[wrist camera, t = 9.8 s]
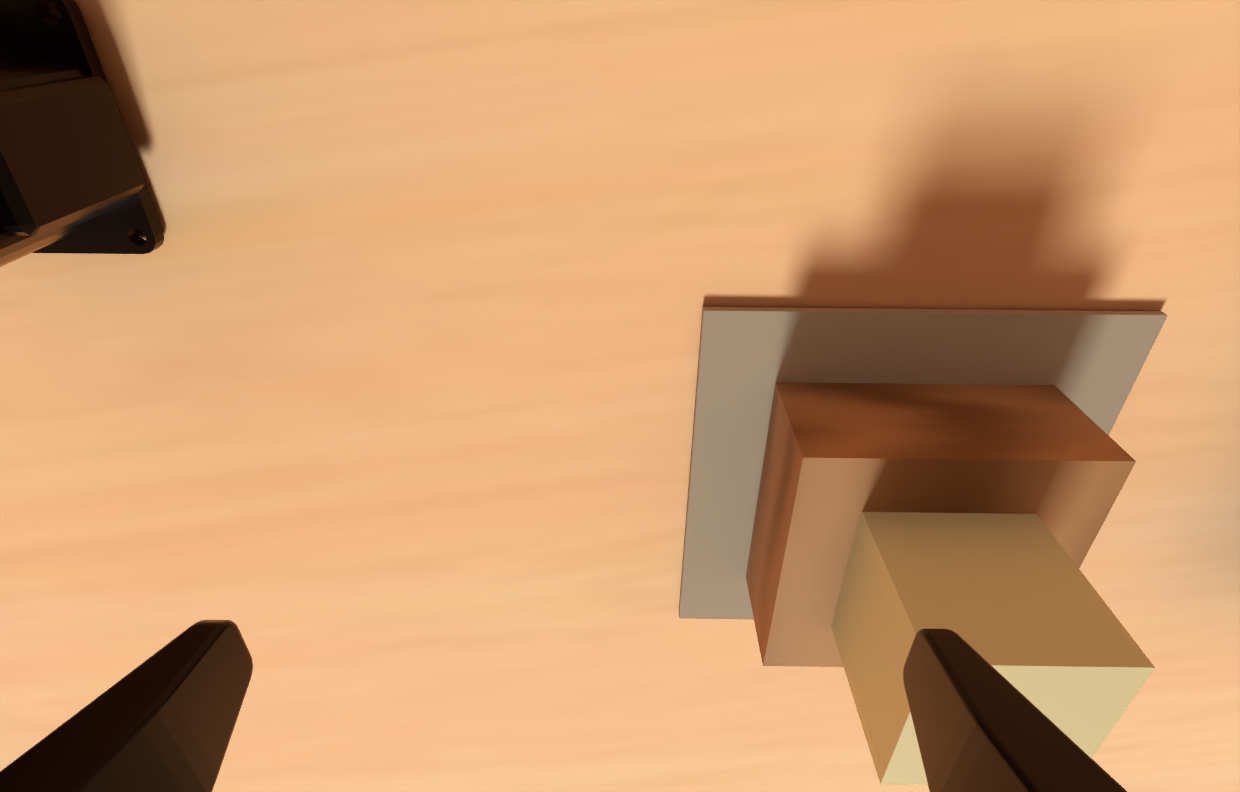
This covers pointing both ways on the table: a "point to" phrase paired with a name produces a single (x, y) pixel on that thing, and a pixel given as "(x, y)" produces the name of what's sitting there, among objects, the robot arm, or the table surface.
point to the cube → (978, 625)
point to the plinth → (908, 484)
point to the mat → (867, 353)
